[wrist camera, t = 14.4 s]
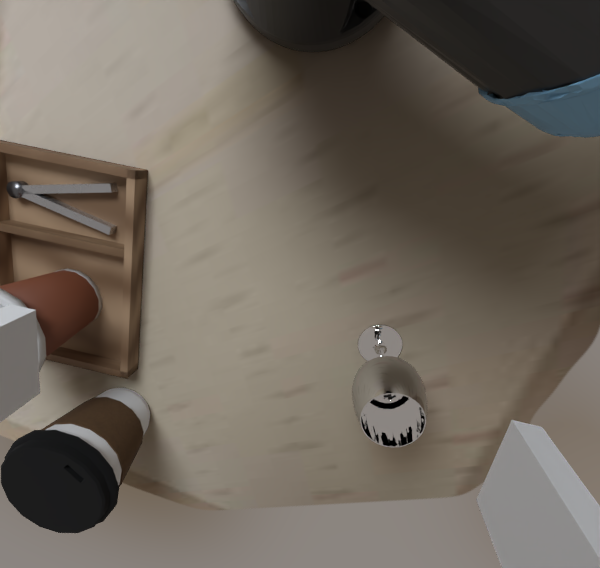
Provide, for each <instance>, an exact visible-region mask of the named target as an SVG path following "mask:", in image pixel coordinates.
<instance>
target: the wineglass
mask: <svg viewBox="0 0 600 568" xmlns="http://www.w3.org/2000/svg"><path fill="white" fill-rule="evenodd" d="M358 350H359V352H360V354H361V355H362V357H363V358H364V359H365V360H367V362H365V363H364V364H363V365H362V366H361V367H360V368H359V369H358V371H357V373H356V375H355V378H354V381H353V385H352V400H353V405H354V410H355V413H356V416H357V418H358V421H359V423H360V426H361V428H362V430H363V432H364V433H365V435H366V436H367V437H368V438H369V439H370V440H372V441H373V442H375V443H377V444H379V445H382V446H385V447H402V446H406V445H408V444H411V443H413V442H414V441H415V440H417V439H418V438H419V437H420V436H421V434H422V433H423V431H424V429H425V425H426V419H427V396H426V390H425V387H424V383H423V381H422V379H421V377H420V375H419V374H418V372H417V371H416V369H415V368H414V367H413V366H412V365H411V364H409V363H408V362H407V361H405V360H403V359H401V358H398V356H399V354H400V353H401V350H402V339H401V336H400V335H399V333H398V332H397V331H396V330H395V329H393V328H392V327H389V326H387V325H374V326H371V327H368V328H367V329H366V330H364V331H363V332H362V333H361V335H360V337H359V340H358Z"/></svg>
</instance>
